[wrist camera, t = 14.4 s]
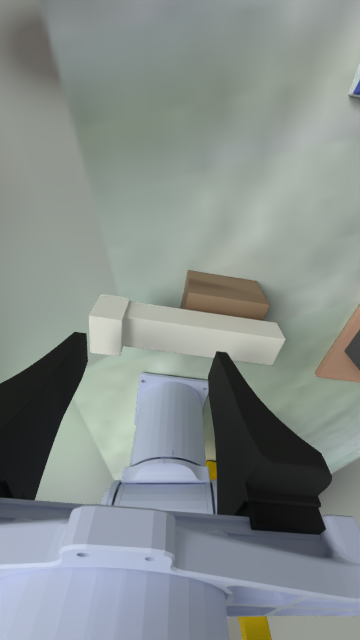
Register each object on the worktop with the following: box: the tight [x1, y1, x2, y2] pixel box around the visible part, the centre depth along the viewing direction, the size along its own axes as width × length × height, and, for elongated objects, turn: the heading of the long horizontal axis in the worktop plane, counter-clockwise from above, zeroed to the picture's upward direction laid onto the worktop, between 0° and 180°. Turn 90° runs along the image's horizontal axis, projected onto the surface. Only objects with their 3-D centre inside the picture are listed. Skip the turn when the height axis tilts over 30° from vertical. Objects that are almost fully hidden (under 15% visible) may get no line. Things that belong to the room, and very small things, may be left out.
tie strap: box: [89, 294, 286, 365], centre depth 18 cm, size 3×13×3 cm, turn 80°
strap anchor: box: [180, 270, 270, 321], centre depth 21 cm, size 5×6×4 cm
